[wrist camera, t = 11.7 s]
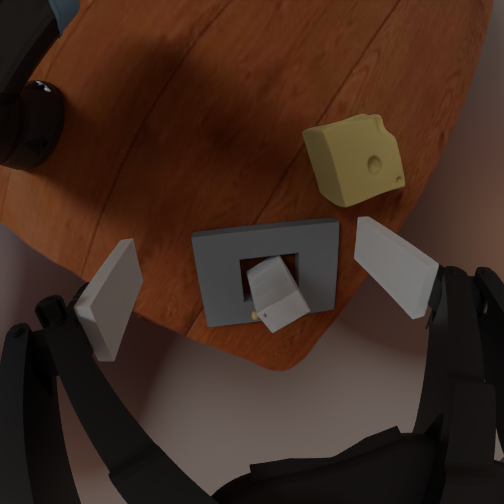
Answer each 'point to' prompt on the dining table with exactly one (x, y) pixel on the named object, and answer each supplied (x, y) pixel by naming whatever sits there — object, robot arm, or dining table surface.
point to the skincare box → (275, 293)
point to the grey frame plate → (261, 245)
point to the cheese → (354, 159)
